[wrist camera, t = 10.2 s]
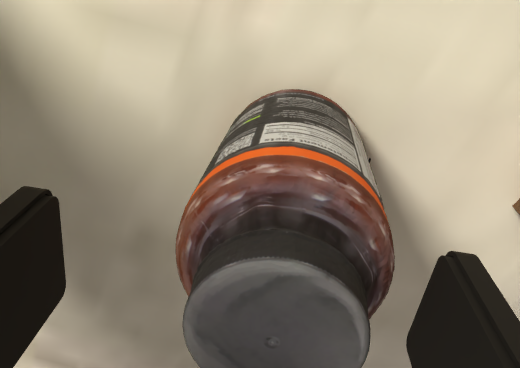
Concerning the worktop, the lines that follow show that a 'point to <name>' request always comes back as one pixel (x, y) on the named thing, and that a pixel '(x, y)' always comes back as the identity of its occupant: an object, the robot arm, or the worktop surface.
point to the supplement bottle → (285, 241)
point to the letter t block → (517, 206)
